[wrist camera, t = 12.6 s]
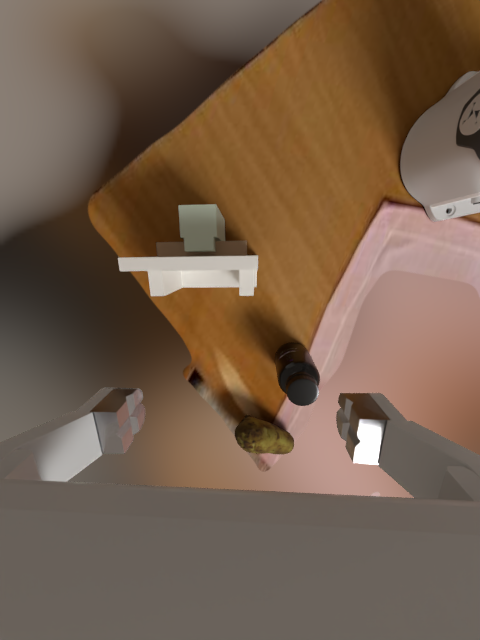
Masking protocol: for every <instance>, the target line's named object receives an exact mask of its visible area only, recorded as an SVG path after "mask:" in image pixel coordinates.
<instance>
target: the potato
mask: <svg viewBox="0 0 480 640" xmlns="http://www.w3.org/2000/svg"><path fill="white" fill-rule="evenodd" d="M235 438H236V440H237V443H238V444H239V445H240V446H241V448H243V449H244V450H245V451H247V452H249V453H250V452H251V453H256V454H257V453H272V454H286V453H289V452H291V451H292V449H293V447H294V439H293V438H292V436H291V435H290V433H288V432H287V431H285V430H283V429H281V428H279V427H278V426H276V425H274V424H272V423H270V422H267V421H263V420H260V419H257V418H254V417H251V416H250V415H246V416H245V418H244V419H243V420H242V421H241V422H240V423H239V425H238V426H237V427H236V429H235Z"/></svg>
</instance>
